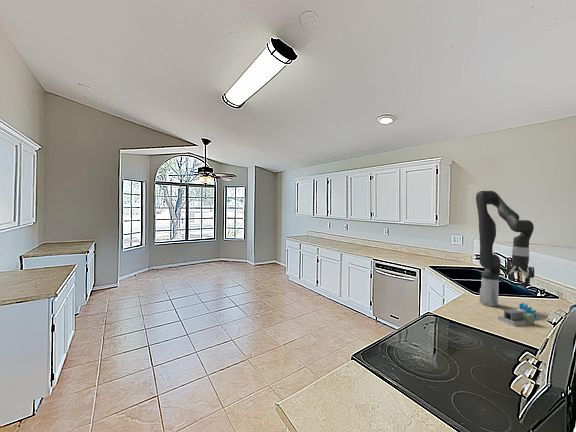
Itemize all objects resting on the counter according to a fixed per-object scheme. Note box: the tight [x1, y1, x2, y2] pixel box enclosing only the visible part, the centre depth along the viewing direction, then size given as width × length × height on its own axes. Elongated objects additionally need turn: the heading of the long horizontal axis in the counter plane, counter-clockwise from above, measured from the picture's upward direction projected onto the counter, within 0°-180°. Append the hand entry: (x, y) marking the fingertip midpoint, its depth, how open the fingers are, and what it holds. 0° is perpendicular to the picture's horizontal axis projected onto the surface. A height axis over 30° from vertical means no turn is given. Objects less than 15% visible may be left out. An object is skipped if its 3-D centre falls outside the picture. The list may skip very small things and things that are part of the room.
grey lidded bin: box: [503, 308, 523, 321], centre depth 156 cm, size 7×5×5 cm
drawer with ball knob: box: [497, 308, 535, 327], centre depth 156 cm, size 10×13×6 cm
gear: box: [518, 302, 538, 321], centre depth 164 cm, size 11×6×10 cm
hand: (519, 282), depth 162 cm, fingers open, 8 cm apart
